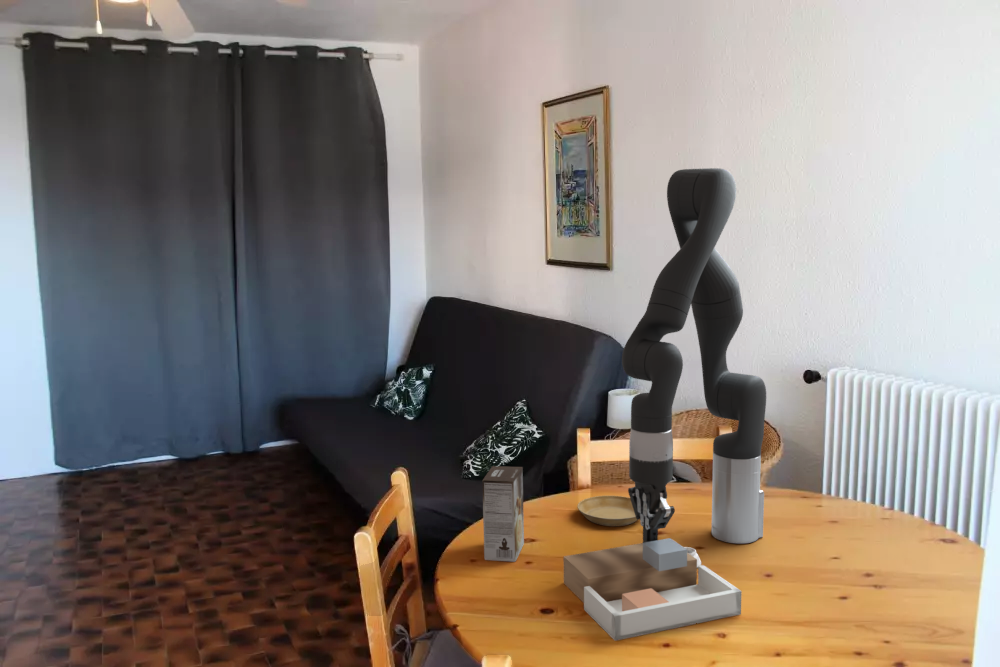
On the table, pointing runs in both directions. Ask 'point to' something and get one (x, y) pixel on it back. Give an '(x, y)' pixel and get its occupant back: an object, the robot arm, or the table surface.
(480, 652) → the table surface
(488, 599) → the table surface
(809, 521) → the table surface
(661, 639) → the table surface
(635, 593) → the tile terracotta
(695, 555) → the white jar
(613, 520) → the plant saucer
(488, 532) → the coffee box
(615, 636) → the box
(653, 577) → the brown wooden slab
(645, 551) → the blue grey flat block
